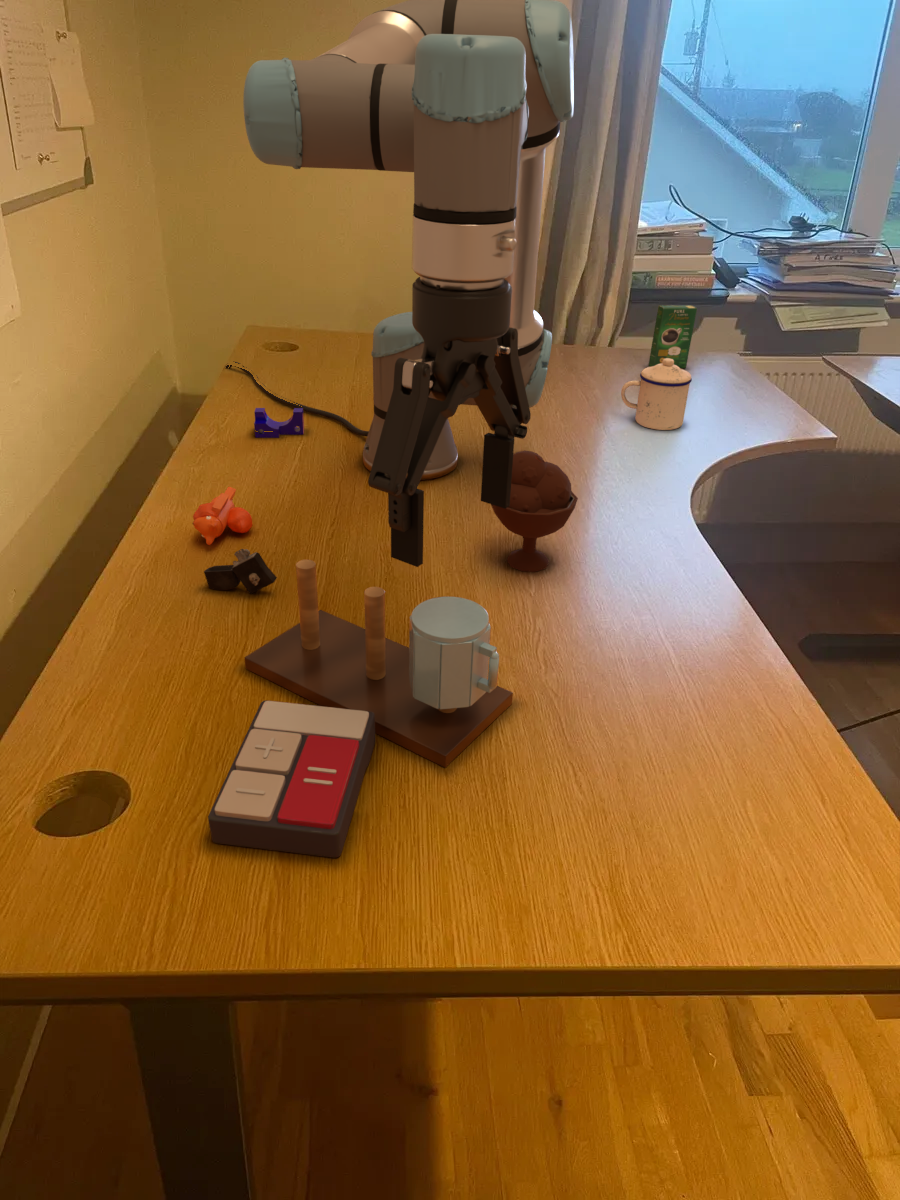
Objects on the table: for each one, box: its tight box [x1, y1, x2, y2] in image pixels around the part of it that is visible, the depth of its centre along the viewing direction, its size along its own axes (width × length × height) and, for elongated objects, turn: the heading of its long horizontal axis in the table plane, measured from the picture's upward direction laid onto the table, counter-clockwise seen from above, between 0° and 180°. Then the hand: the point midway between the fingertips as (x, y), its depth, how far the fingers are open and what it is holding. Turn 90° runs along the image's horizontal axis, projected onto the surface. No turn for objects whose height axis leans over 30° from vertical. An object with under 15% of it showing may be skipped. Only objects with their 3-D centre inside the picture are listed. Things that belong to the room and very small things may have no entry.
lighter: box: [203, 548, 278, 595], centre depth 107 cm, size 8×2×5 cm
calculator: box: [207, 700, 376, 859], centre depth 79 cm, size 11×4×15 cm
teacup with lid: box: [620, 358, 693, 431], centre depth 160 cm, size 12×9×12 cm
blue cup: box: [408, 596, 500, 710], centre depth 84 cm, size 9×7×8 cm
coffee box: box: [648, 304, 698, 369], centre depth 189 cm, size 8×3×13 cm, turn 103°
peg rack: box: [244, 559, 514, 768], centre depth 90 cm, size 26×12×12 cm, turn 55°
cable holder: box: [253, 407, 305, 439], centre depth 152 cm, size 8×4×4 cm, turn 94°
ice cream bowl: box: [490, 450, 579, 573], centre depth 113 cm, size 11×11×15 cm
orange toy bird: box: [192, 486, 253, 546], centre depth 120 cm, size 5×8×12 cm
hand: (453, 530), depth 78 cm, fingers open, 13 cm apart
